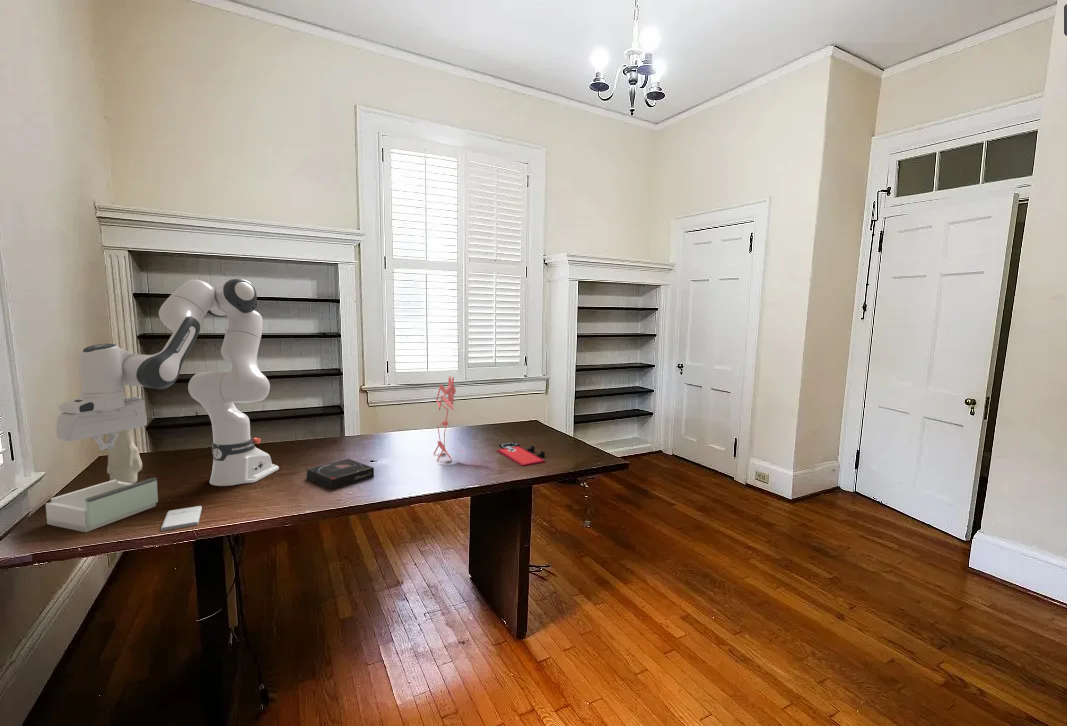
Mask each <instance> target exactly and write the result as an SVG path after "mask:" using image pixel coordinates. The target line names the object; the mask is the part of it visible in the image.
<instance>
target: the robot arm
mask: <svg viewBox="0 0 1067 726" xmlns="http://www.w3.org/2000/svg"><path fill="white" fill-rule="evenodd" d="M257 299H258V295H257V290H256V288H255V286H254V285H253V284H252V282H250V281H249V280H246V279H245V278H244V279H243V278H232V279H229V280H227V281H223V282H221V283H219V284H217V285H214V286H212V285H210V284H209V283H207V282H206V281H203V280H200V279H190V280H188V281H186V282H184V283H183V284H181V285H180V286H179V287H178V288H177V289H176V290H174V291H173V292H172V293H171V294H170V295H169V297H167V298H166V300H165V301H164V302H163V303H162V304H161V306H160V308H159V310H158V316H159V320H160V321H161V323H162V324H163V325H164V326H165V327H166V328H168V329H169V330H170V331H172V334H171V336H170V337H169V339H168V341H167V342H166V343H165V345H164V347H163V348H162V350H161V351H159V352H156V353H154V354H141V353H140V354H139V353H135V352H131V351H128V350H125V349H124V348H121V347H120V346H118V345H117V344H115V343H102V344H101V343H99V344H92V345H89V346H86V347H85V348H83V349H82V350H81V353H80V355H79V357H80V358H79V367H78V368H79V378H80V380H81V382H82V386H81V390H80V396H77V397H76V398H73V399H71V400H68V401H65V402H63V403H60V404H59V405H58V411H59V412H60V414H59V415H58V417H57V420H56V427H55V428H56V429H55V431H56V432H55V433H56V437H57V439H58V440H59V441H62V442H66V443H67V442H69V443H70V442H74V441H79V440H84V439H89V438H92V440H93V441H94V442H95V443H96V444H97V450H99V451H107V450H108V449H111V448H114V442H115V440H116V439H117V437H118V435H119V434H118V432H119V431H124V430H129V429H132V430H134V429H138V428H143V427H145V426H146V425H147V423H148V419H147V418H148V417H147V414H146V409H145V400H144V399H143V398H141V397H138V396H134V397H125V393H124V392H125V390H124V389H125V388H124V386H129V387H130V386H131V387H141V388H142V387H143V388H149V389H154V390H164V389H168V388H169V387H171V386H173V385H174V384H175V383H176V382H177V380H178V378H179V375H180V373H181V370H182V366H183V363H184V361H185V360H186V358H187V356H188V355H189V353H190V351H191V350H192V348H193V346H194V344H195V342H196V340H197V338H198V337H199V334H200V332H201V324H200V323H201V321H202V320H203V318H204V317H205V316H206V315H209V316H212V317H214V318H222V317H227V320H228V321H227V322H228V326H227V328H226V332H225V334H224V339H223V342H222V345H221V349H220V354H221V356H222V359H224V360H225V361H226V362H228V363H229V364H231V370H230V371H222V370H221V371H219V370H218V371H214V370H211V371H204V372H199V373H195V374H194V375H193V376H192V377H191V378H190V379H189V382H188V386H187V391H188V393H189V396H191V398H192V399H193V400H195V401H196V402H198V403H199V404H200V405H201V406H202V407H203V409H204V410H205V411H206V413H207V414H208V416H209V419H210V422H211V429H212V439H213V440H212V441H213V442H212V443H211V454H212V457H213V460H212V466H211V467H212V470H211V475H210V479H209V484H210V485H212V486H217V487H227V486H235V485H241V484H252V483H256V482H258V481H260V480H262V479H264V478H266V477H267V476H269V475H272V474H273V473H275V472H277V471H278V470H280V466H278V464H277V465H276V464H274V463H272V459H271V456H270V454H269V453H268V452H265V451H263V450H261V449H260V448H257V447H256V445H255V444H260V443H261V441H262V440H261V438H260V437H258V438H257V437H254V438H252V437H251V424H250V423H251V421H250V418H249V416H248V415H247V414H245V413H244V412H242V411H241V410H239V409H238V408H237V407H236V405H235V404H250V403H257V402H262V401H264V400H265V399H266V398H267V396H268V395H269V393H270V389H271V384H270V383H271V382H270V381H269V379H268V378H267V376H266V375H265V374H264V373H262V372H261V370H260V369H259V366H258V352H259V347H260V344H261V340H262V339H261V338H262V334H263V326H264V324H263V316H262V315H261V313H259V312H258V311H256V309H257V307H258V302H257ZM106 434H108V436H110V437H109V439H108V441H107V442H104V440H103V439H105V438H104V437H105V436H104V435H106Z"/></svg>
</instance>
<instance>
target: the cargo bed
mask: <svg viewBox="0 0 1067 726" xmlns="http://www.w3.org/2000/svg"><path fill="white" fill-rule="evenodd" d="M131 484H133V483H127V482H121V481H119V482H118V480H111V481H110V480H109V481H105V482H101V483H98V484H95V485H90V486H88V487H85V488H82V489H77V490H75V491H71V492H68V493H64V494H61V495H58V496H55V497H51V498H50V501H49V502H46V503H45V512H46V523H47V525H49V526H54V527H59V528H64V529H68V530H73V531H78V532H82V533H87V532H90V531H94V530H96V529H98V528H101V527H103V526H106V525H109V524H112V523H114V522H117V521H120V520H122V519H125V518H128V517H130V516H133V515H136V514H138V513H141V512H145V511H147V510H149V509H152V508H155V507H157V502H156V503H154V504H151V505H148V506H145V507H143V508H140V509H137V510H135V511H132V512H129V513H126V514H124V515H121V516H118V517H115V518H113V519H110V520H107V521H105V522H102V523H99V524H96V525H94V526H88V523H87V510H86V499H87V498H90V497H93V496H96V495H99V494H102V493H106V492H109V491H112V490H115V489H118V488H121V487H125V486H128V485H131Z"/></svg>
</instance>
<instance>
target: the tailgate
mask: <svg viewBox="0 0 1067 726" xmlns="http://www.w3.org/2000/svg"><path fill="white" fill-rule="evenodd" d="M158 496H159V495H158V478H157V477H154V476H153V477H151V478H147V479H144V480H141V481H137V482H136V483H134V484H131V485H128V486H125V487H121V488H118V489H115V490H112V491H109V492H106V493H102V494H99V495H96V496H93V497H90V498H87V499H86V510H87V523H88V526H94V525H96V524H99V523H102V522H105V521H107V520H110V519H113V518H115V517H118V516H121V515H124V514H126V513H129V512H132V511H135V510H137V509H140V508H143V507H145V506H148V505H151V504H154V503H156V504H157V503H158V502H159V497H158Z"/></svg>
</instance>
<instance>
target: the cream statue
mask: <svg viewBox="0 0 1067 726" xmlns="http://www.w3.org/2000/svg"><path fill="white" fill-rule="evenodd" d="M118 434H119V435H118V437H117V439H116V440H115V442H114V448H111V449H107V454H108V456H107V468H106V473H107V474H108V475H109V481H111V480H118V482H119V481H121V482H127V483H133V484H134V483H137V482H138V473H139V472H141V471H142V469H143V461H142V459H141V457H140V453H139V448H138V447H137V446H136V445H135V443H134V437H133V429H129V430H124V431H119V432H118ZM104 435H105V436H104V437H105V438H104V440H105V442H107V441H108V439H109V437H110V436H108V434H104ZM105 442H104V443H105Z"/></svg>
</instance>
